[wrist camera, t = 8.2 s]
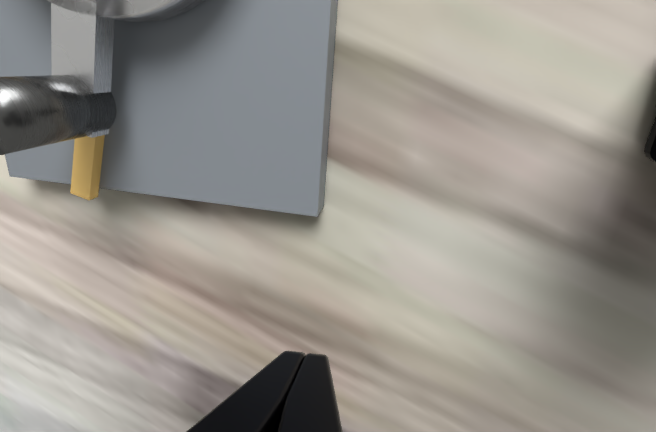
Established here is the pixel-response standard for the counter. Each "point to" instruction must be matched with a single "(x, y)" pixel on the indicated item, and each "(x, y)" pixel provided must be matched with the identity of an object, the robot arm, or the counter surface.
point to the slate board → (197, 104)
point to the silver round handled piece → (73, 74)
